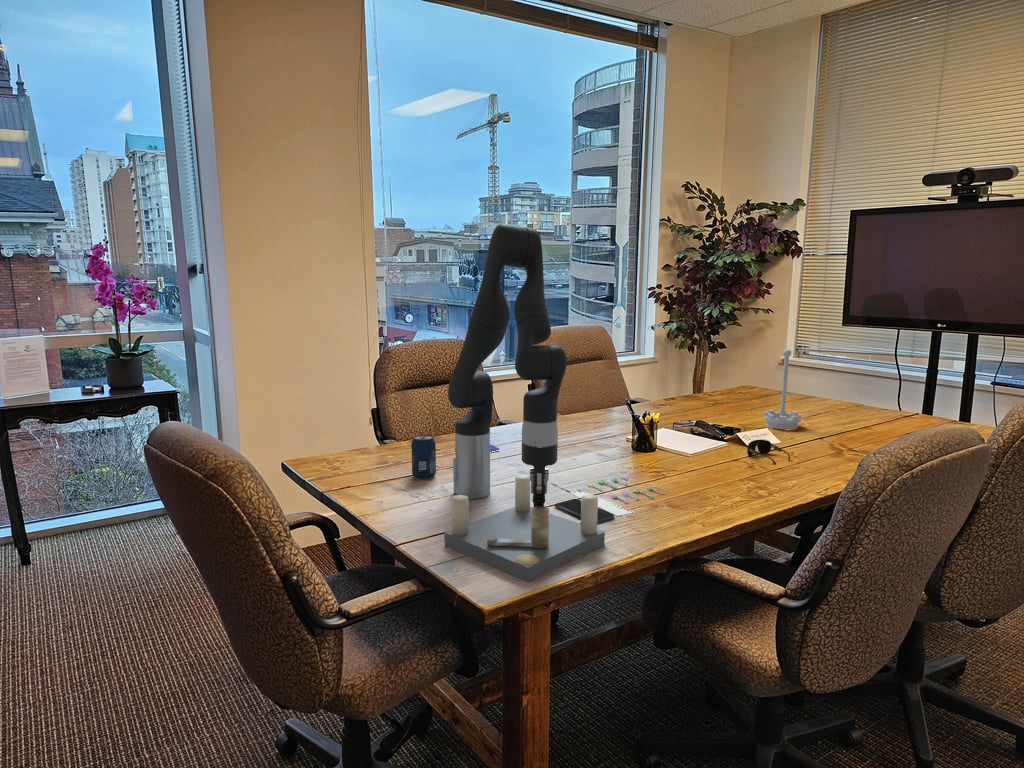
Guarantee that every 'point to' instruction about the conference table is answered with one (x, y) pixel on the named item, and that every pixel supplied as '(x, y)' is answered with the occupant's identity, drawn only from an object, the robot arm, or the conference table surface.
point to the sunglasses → (762, 448)
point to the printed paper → (610, 507)
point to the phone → (574, 510)
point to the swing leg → (537, 532)
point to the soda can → (423, 457)
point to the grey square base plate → (523, 535)
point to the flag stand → (783, 404)
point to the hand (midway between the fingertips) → (538, 517)
